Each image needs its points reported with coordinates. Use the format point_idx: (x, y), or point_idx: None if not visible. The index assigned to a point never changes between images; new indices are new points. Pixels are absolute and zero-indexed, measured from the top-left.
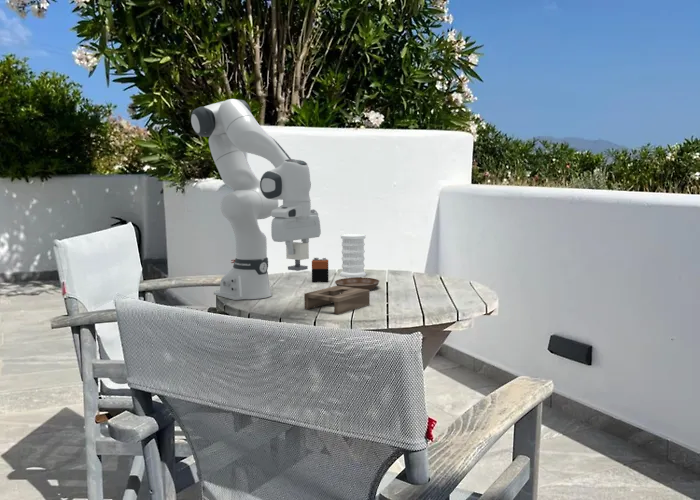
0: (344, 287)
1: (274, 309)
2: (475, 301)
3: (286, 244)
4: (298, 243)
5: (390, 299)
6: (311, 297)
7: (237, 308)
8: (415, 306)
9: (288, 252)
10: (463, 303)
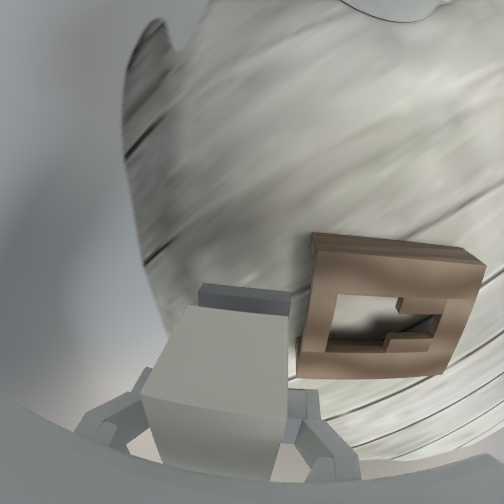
0: (465, 304)
1: (251, 145)
2: (470, 436)
3: (93, 416)
4: (203, 467)
5: (485, 348)
6: (312, 279)
7: (195, 37)
8: (427, 412)
9: (142, 374)
10: (457, 436)
